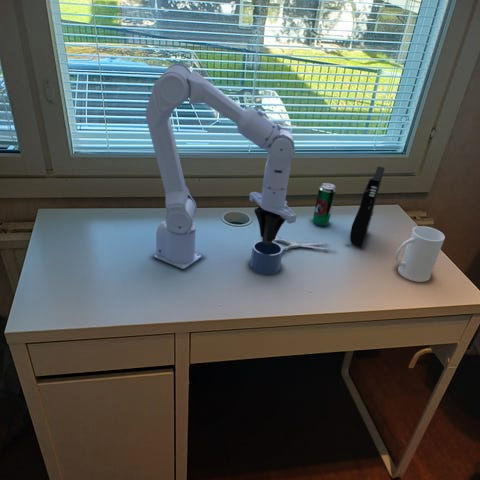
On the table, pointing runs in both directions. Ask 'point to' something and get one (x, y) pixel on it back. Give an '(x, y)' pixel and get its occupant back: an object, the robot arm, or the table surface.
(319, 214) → the soda can
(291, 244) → the scissors
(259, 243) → the cup
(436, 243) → the mug
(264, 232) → the dark brown square post
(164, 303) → the table surface
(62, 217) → the table surface
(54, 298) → the table surface
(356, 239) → the black tapered piece
